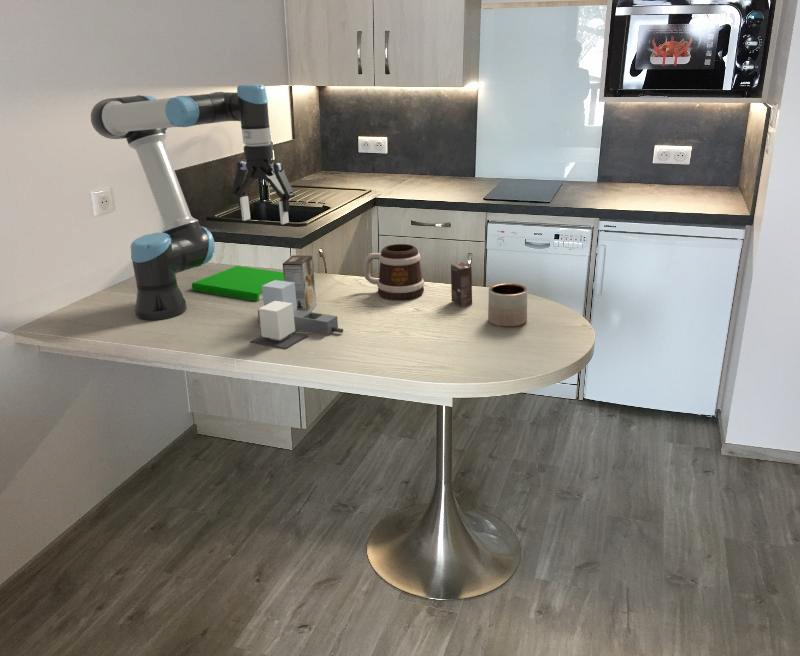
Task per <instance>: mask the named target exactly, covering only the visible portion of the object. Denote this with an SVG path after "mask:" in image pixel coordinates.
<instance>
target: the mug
mask: <svg viewBox="0 0 800 656" xmlns="http://www.w3.org/2000/svg"><path fill="white" fill-rule="evenodd" d="M421 258H422V257H421V254H420V252H419V250H418V248H417V247H416V246H415V245H412V244H406V243H397V244H396V243H395V244H389V245H386V246H384V247H383V248H382V249H381V251H380V252H371V253H369V254H368V255H366V257H365V259H364V261H363V265H362V266H363V267H362V268H363V270H362V271H363V275H364V279H365V280H366V281H368V283H370V284H372V285H376V286H377V293H378V295H379V296H380V297H382V298H383V299H387V300H393V301H405V300H406V301H407V300H412V299H416V298H419V297H420V296H421V295H422V294H424V292H425V289H424V288H425V287H424V285H425V281H424V278H423V276H422V270H421V269H422V268H421V261H420V260H421ZM373 260H379V273H378V274H379V276H378V278H375V277H372V275H371V273H370V272H371V271H370V263H371V262H372V261H373Z"/></svg>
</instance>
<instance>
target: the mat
mask: <svg viewBox="0 0 800 656" xmlns="http://www.w3.org/2000/svg"><path fill="white" fill-rule="evenodd" d="M307 337H309V334H305V333H300V332H295V331H294V332H293V333H291V334H289V335H288V337H287V338H285V339H283V340H281V341H276V340H271V339H270V338H267V337H262V334H260V335H259V336H257V337H255V338H253V339H251V340H250V342H249V343H252V344H257V345H262V346H266V347H267V346H268V347H273V348H279V349H283V350H287V349H289V348H291V347H292V346H294V345H296V344H298V343H299V342H300V341H302V340H304V339H306V338H307Z"/></svg>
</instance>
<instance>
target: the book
mask: <svg viewBox="0 0 800 656" xmlns="http://www.w3.org/2000/svg"><path fill="white" fill-rule="evenodd" d="M274 280H279V281H284V273H283V271H276V270H275V271H274V270H268V269H262V268H254V267H250V266H249V267H248V266H240V265H236V266H233V267H230V268H227V269H225V270H223V271H220V272H217V273H214V274H212V275H210V276H207V277H203V278H202V279H199V280H196V281H193V282H192V284H191V290H192V291H195V292H202V293H207V294H214V295H218V296H225V297H229V296H230V298H236V299H242V300H248V301H254V302H259V301H260V300H263V292H262V286H263V285H265V284H267V283H269V282H271V281H274Z"/></svg>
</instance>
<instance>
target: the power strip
mask: <svg viewBox="0 0 800 656" xmlns="http://www.w3.org/2000/svg"><path fill="white" fill-rule="evenodd" d="M293 312H294V323H295V331H300V332H306V333H311V334H316V335H322V336H330V335H332V334H333V333H340V334H343V333H344V328H340V327H339V322H338V321H339V320H338V316H337V315H332V314H325V313H320V312H319V313H318V312H312V311H311V312H307V311H301V310H295V311H293ZM257 317H258V324H259V325H260V316H259V309H258V310H257Z"/></svg>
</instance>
